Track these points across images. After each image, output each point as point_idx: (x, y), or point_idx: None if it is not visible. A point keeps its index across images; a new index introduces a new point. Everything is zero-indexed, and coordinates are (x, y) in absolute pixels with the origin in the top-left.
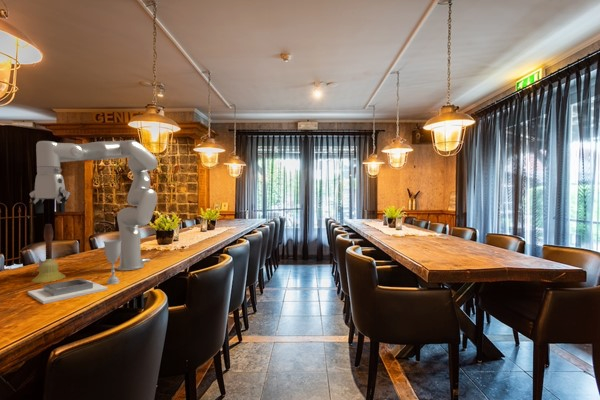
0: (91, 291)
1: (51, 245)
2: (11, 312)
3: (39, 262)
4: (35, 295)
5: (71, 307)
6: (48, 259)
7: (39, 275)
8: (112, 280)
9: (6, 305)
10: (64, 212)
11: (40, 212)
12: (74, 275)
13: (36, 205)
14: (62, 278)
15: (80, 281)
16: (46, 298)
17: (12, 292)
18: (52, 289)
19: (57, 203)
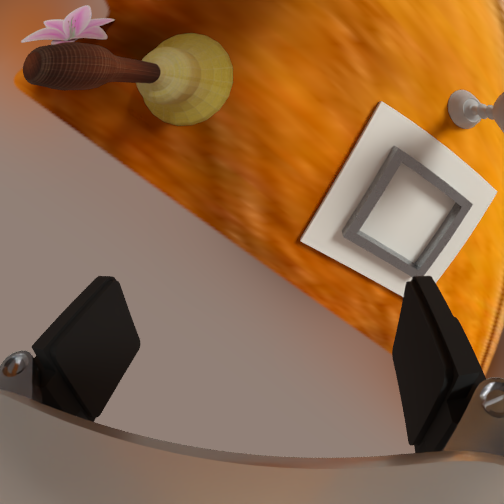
0: (476, 224)
1: (127, 61)
2: (389, 343)
3: (63, 41)
4: (362, 272)
5: (480, 309)
6: (158, 80)
7: (172, 108)
8: (476, 123)
9: (339, 315)
10: (426, 279)
11: (127, 317)
12: (227, 17)
13: (100, 406)
14: (231, 65)
15: (413, 170)
16: None
17: (236, 228)
18: (408, 272)
19: (424, 451)
